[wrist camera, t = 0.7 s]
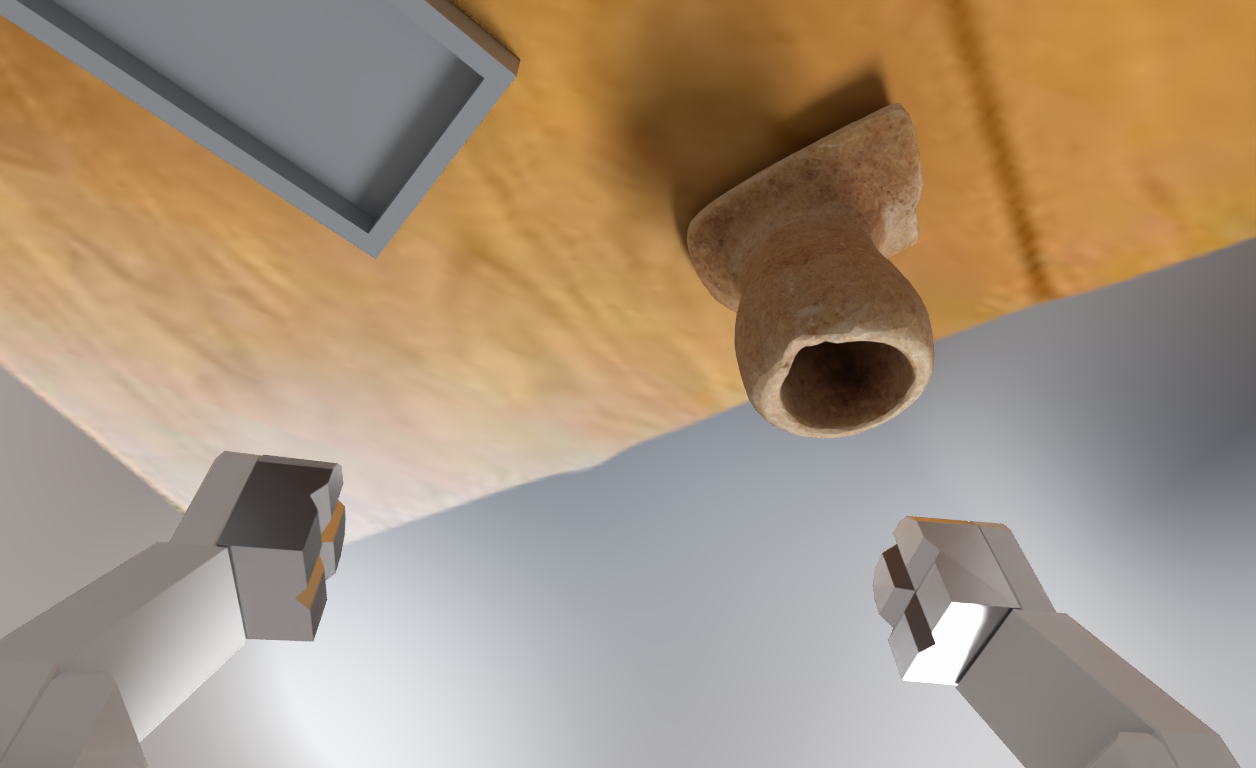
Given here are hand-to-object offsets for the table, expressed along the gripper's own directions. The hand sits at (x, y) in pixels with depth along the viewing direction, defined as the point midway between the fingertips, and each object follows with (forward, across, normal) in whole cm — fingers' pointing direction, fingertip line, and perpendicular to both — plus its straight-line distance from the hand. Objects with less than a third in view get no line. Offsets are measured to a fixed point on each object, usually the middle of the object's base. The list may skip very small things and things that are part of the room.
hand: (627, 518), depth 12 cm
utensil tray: (+39, +18, +5) cm, 43 cm away
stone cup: (+39, -15, +13) cm, 44 cm away
